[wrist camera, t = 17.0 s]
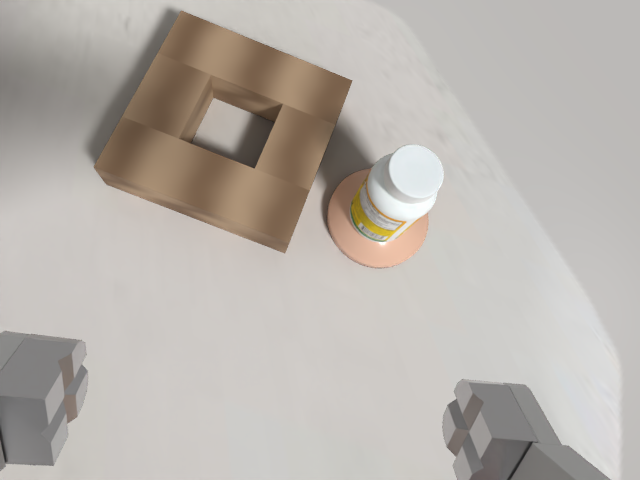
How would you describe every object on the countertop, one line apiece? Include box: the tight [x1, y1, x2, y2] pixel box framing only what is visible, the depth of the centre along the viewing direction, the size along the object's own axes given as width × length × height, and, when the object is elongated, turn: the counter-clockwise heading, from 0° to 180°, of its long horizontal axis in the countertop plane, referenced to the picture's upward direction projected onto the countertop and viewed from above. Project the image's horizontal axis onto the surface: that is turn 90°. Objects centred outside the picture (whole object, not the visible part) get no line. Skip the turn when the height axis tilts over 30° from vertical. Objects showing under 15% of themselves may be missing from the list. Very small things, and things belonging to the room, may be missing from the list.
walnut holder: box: [94, 11, 352, 253], centre depth 41 cm, size 16×16×4 cm
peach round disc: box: [327, 168, 428, 268], centre depth 42 cm, size 9×9×1 cm
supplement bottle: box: [349, 144, 444, 243], centre depth 37 cm, size 5×5×10 cm
